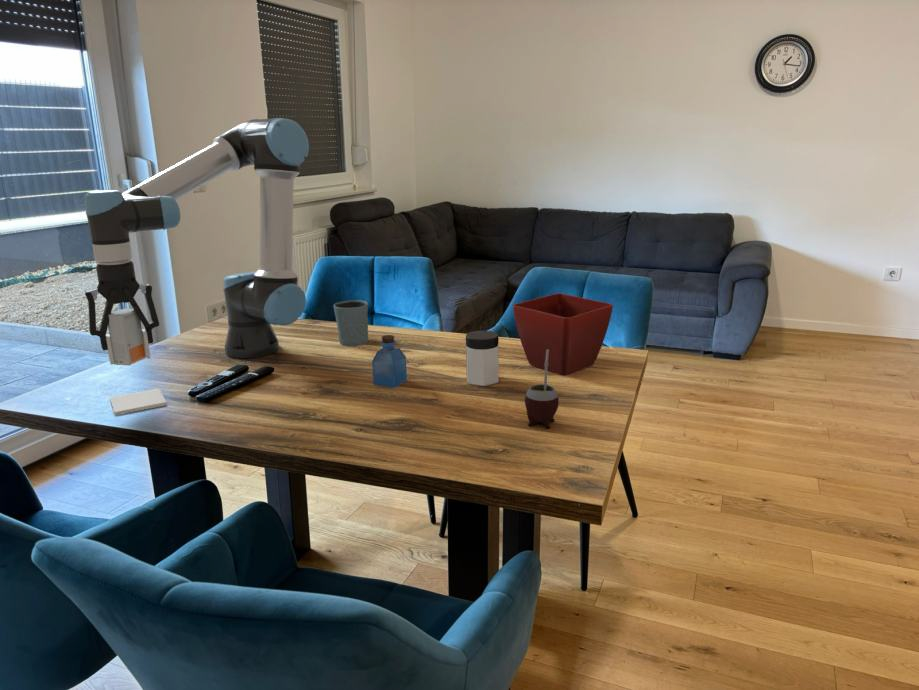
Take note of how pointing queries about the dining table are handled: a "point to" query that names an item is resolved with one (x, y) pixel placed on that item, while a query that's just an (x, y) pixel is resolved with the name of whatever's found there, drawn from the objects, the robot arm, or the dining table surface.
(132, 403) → the coaster
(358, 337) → the grey cup
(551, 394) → the mate gourd
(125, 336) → the skincare box
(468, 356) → the jar
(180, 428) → the dining table surface
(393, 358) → the perfume bottle
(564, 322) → the plant pot
